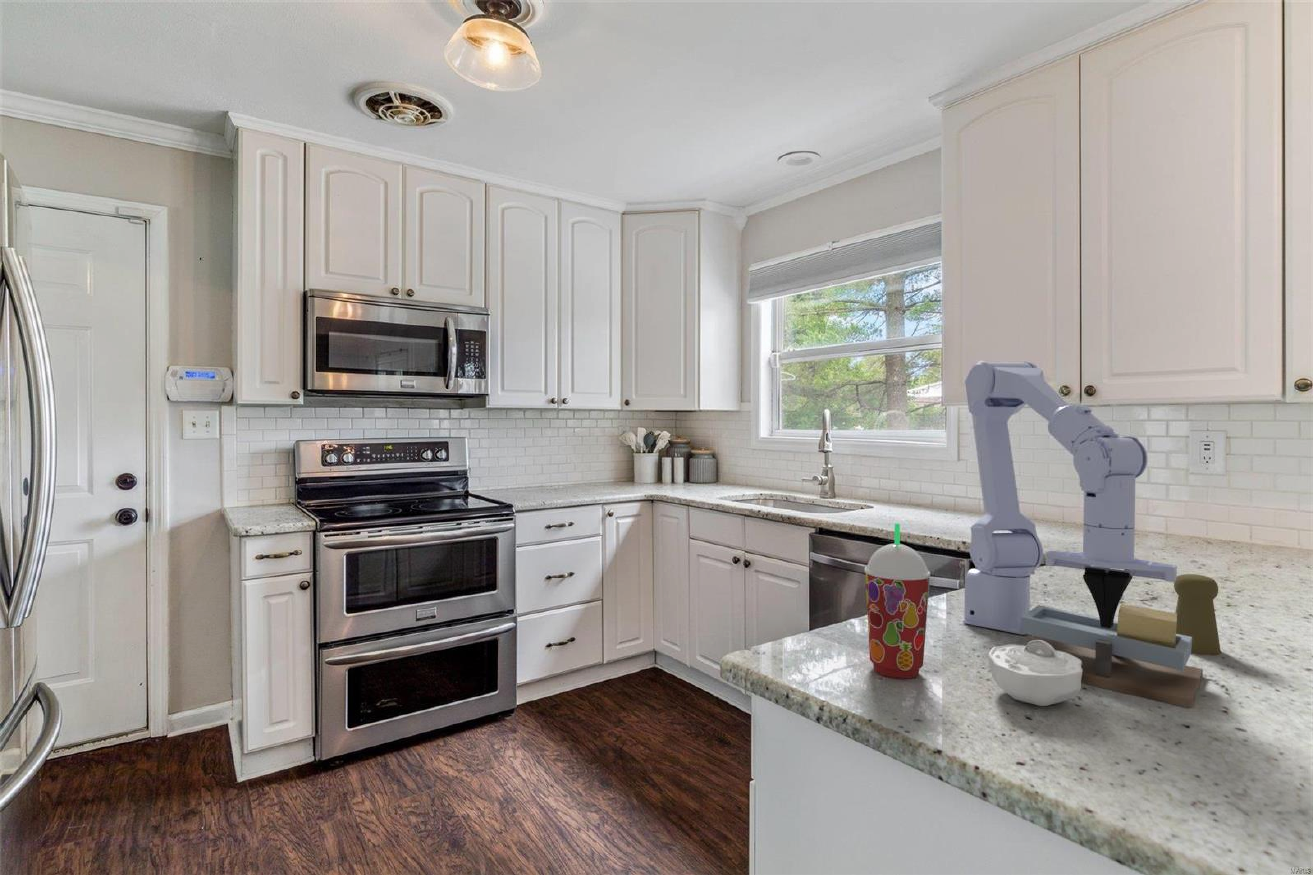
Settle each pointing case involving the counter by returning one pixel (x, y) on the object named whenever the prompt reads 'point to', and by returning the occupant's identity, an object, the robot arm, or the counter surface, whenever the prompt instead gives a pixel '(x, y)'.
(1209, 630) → the cork
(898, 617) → the smoothie
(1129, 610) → the block
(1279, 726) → the counter surface
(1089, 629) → the beam
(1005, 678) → the cell model
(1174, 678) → the stand
